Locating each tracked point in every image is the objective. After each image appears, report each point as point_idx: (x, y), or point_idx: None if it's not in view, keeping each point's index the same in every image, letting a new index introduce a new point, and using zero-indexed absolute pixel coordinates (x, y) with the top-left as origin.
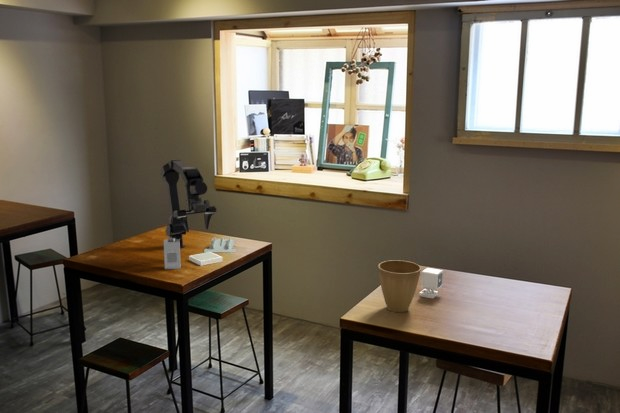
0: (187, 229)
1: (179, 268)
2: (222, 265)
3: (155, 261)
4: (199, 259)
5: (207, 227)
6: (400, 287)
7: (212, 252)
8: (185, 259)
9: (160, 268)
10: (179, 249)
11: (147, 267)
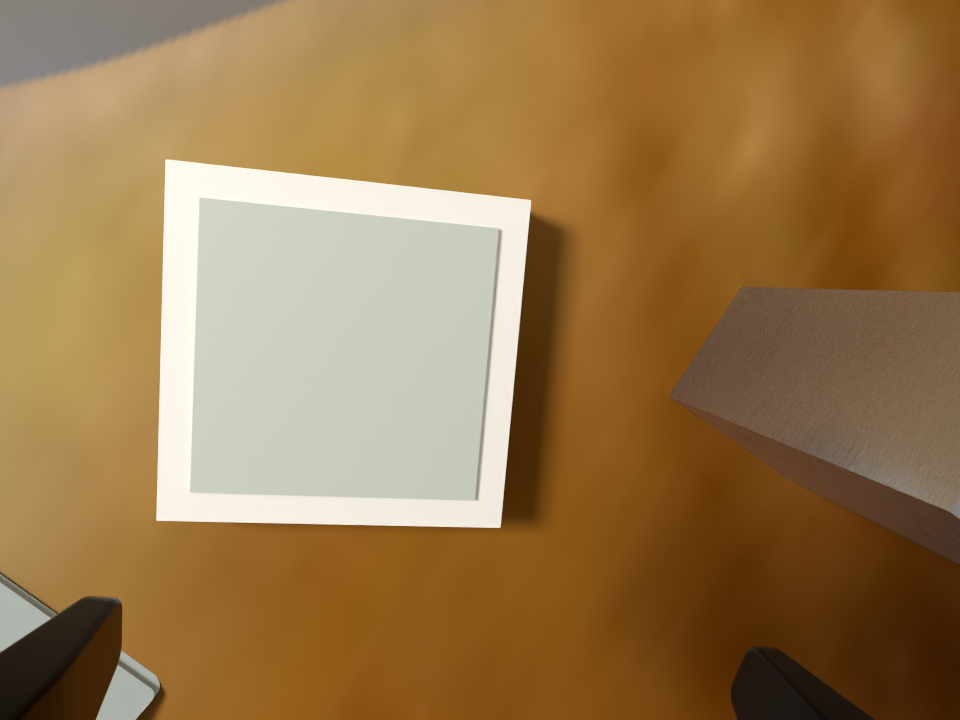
0: (839, 702)
1: (747, 292)
2: (298, 15)
3: None
4: (493, 291)
5: (72, 630)
6: None
7: None
8: (506, 558)
9: None
10: (920, 313)
11: None
